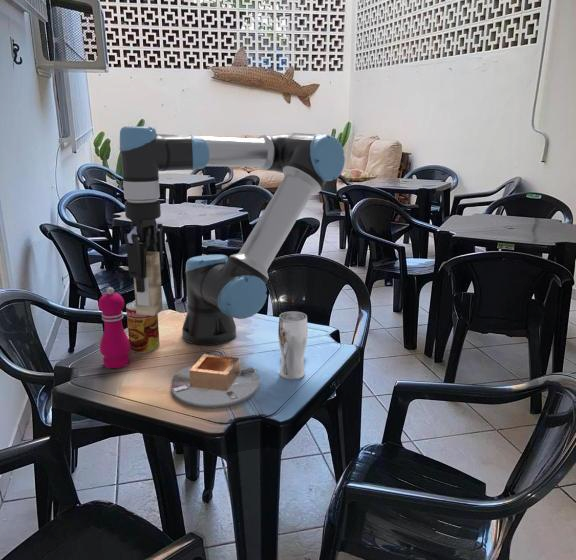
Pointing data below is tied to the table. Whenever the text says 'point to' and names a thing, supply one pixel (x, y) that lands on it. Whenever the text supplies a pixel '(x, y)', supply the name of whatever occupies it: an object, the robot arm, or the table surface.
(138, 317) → the canned food
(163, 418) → the table surface
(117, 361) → the pepper mill
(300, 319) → the beer glass
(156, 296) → the wedge pin
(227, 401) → the rosette plate
